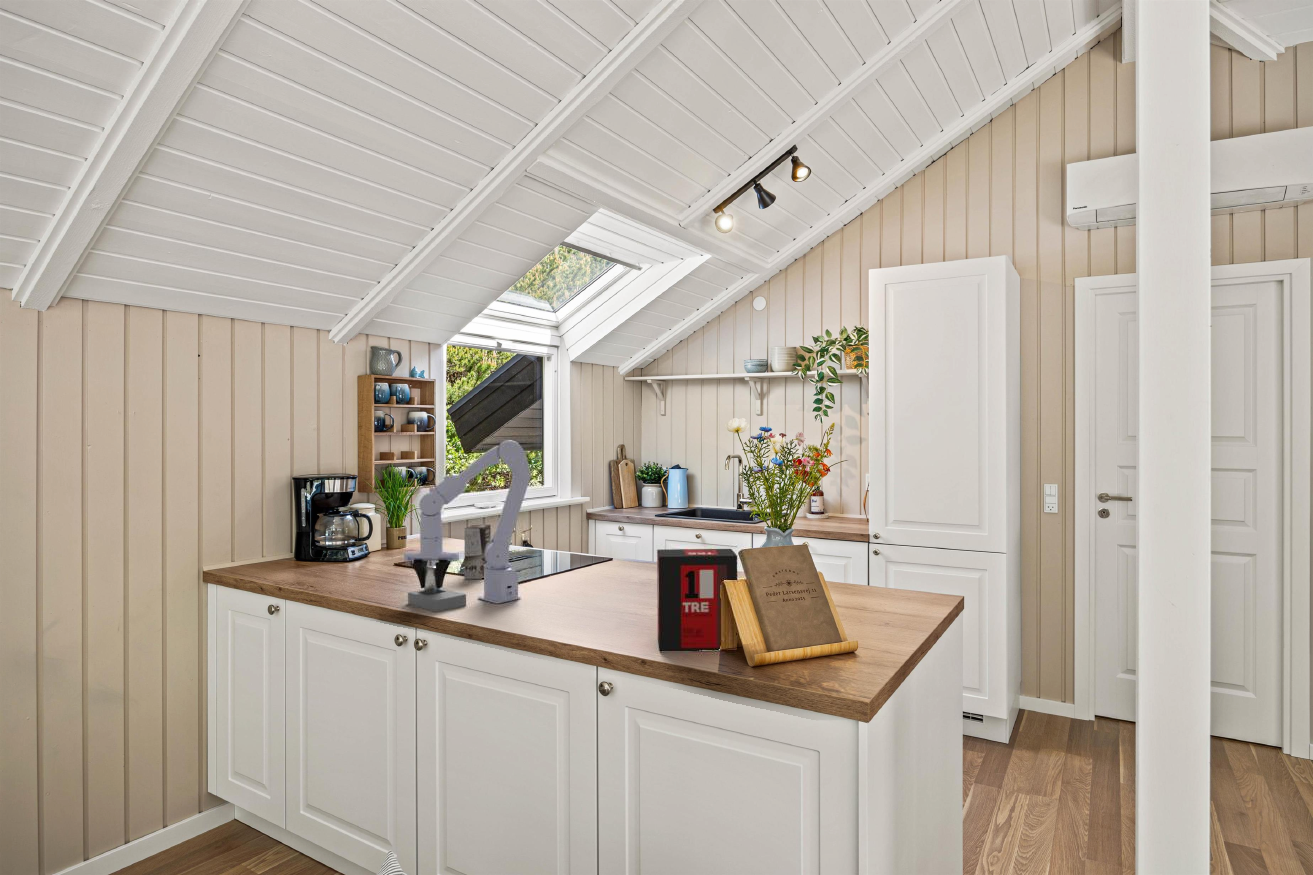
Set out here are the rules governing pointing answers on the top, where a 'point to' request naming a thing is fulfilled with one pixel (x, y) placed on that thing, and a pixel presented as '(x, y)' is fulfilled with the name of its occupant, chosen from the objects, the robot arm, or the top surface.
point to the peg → (430, 580)
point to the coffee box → (476, 550)
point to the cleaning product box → (691, 597)
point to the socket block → (437, 600)
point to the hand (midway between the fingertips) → (431, 587)
